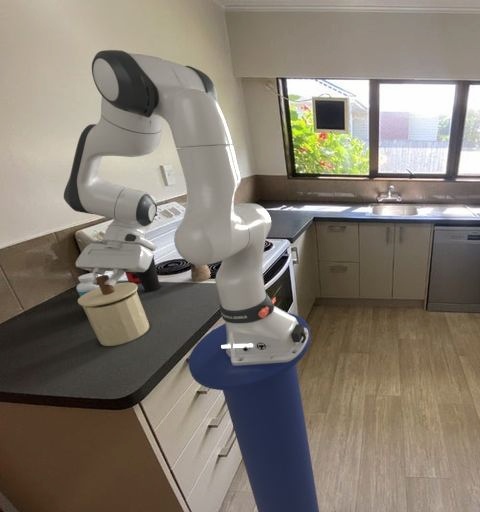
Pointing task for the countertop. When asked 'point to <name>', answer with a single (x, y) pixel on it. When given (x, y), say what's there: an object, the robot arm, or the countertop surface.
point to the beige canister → (118, 320)
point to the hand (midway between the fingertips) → (102, 285)
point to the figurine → (199, 272)
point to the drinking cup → (149, 278)
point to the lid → (107, 293)
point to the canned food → (132, 277)
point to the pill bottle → (86, 284)
